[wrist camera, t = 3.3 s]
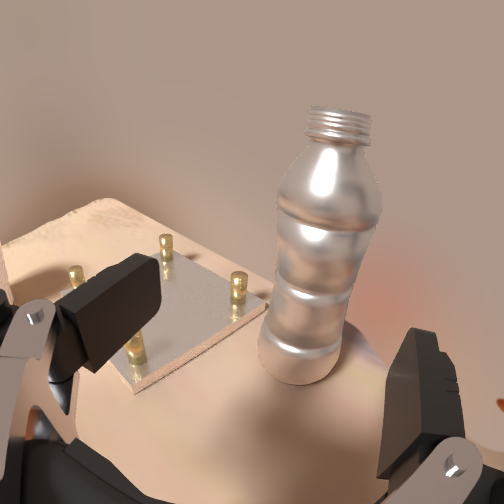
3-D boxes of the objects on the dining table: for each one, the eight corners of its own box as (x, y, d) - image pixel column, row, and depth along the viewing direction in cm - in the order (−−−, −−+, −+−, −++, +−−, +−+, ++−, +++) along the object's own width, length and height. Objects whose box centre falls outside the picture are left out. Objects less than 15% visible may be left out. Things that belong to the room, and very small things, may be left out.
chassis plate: (264, 310, 32) (268, 276, 30) (133, 394, 20) (122, 358, 18) (170, 256, 40) (169, 227, 39) (62, 300, 29) (53, 267, 27)
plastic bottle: (276, 331, 29) (305, 106, 20) (341, 357, 26) (400, 123, 17) (240, 373, 24) (261, 99, 15) (316, 407, 21) (392, 118, 12)
